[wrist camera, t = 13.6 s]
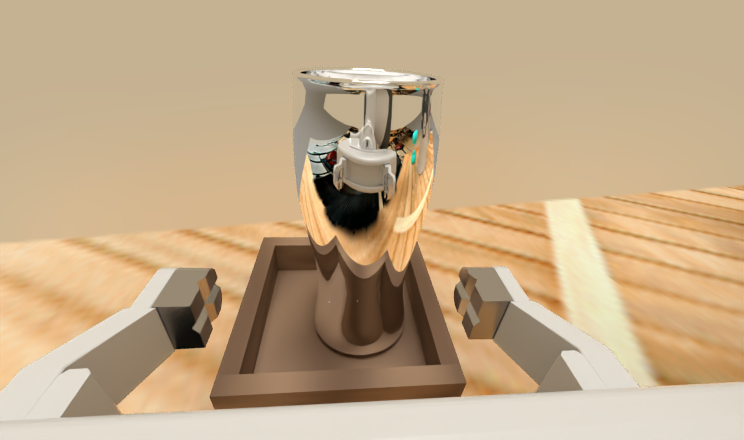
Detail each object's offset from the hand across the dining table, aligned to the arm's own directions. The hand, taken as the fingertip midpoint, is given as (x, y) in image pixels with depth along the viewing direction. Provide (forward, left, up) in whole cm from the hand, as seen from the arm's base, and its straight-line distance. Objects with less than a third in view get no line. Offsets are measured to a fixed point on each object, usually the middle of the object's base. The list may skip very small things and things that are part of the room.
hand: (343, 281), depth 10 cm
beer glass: (-1, -6, -10) cm, 12 cm away
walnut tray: (0, -6, -11) cm, 12 cm away
